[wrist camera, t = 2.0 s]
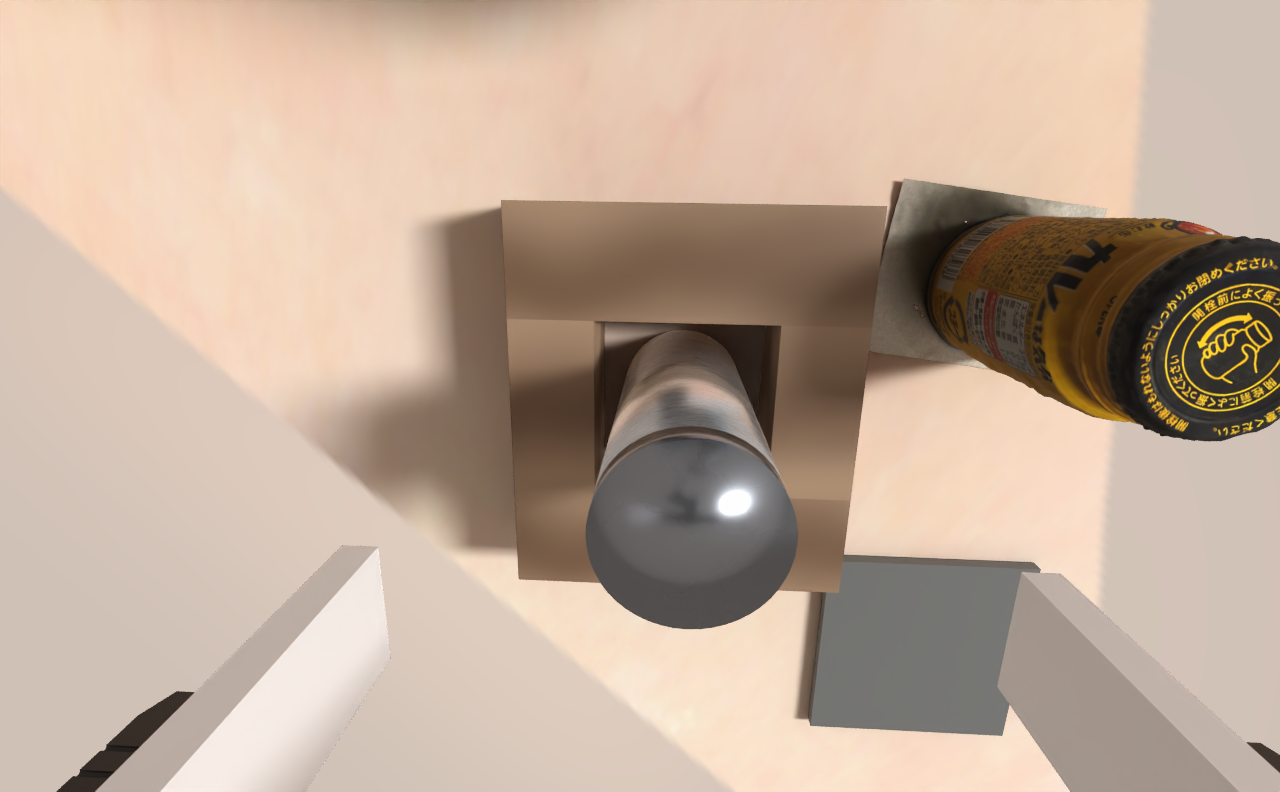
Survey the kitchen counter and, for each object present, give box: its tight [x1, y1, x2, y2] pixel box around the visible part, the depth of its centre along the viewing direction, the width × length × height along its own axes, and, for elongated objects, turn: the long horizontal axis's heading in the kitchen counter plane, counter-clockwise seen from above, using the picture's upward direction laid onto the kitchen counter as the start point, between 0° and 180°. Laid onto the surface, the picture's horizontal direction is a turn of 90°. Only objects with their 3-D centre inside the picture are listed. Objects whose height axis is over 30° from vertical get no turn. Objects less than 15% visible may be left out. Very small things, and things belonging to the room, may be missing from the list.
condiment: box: [869, 179, 1280, 441], centre depth 21 cm, size 7×8×12 cm
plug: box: [585, 330, 798, 629], centre depth 22 cm, size 5×5×14 cm
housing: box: [501, 200, 887, 593], centre depth 27 cm, size 16×14×4 cm
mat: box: [808, 555, 1041, 736], centre depth 32 cm, size 10×10×1 cm
